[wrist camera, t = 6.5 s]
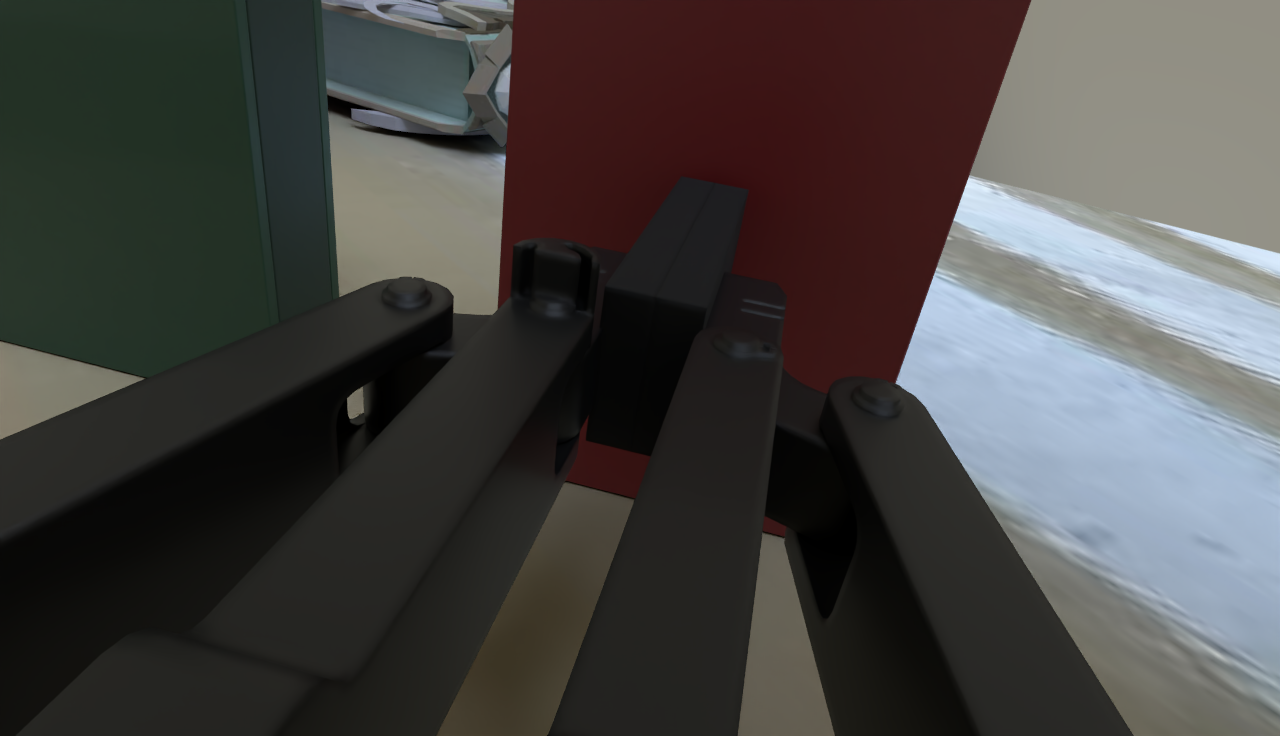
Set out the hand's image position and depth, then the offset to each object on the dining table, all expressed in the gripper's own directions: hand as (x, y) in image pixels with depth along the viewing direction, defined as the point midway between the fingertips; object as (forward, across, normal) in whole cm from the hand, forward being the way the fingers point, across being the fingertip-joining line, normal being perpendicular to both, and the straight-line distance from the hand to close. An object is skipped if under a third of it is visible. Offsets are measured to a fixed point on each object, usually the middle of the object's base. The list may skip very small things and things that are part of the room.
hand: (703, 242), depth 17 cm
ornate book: (+44, -23, -8) cm, 50 cm away
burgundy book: (+2, 0, -8) cm, 8 cm away
